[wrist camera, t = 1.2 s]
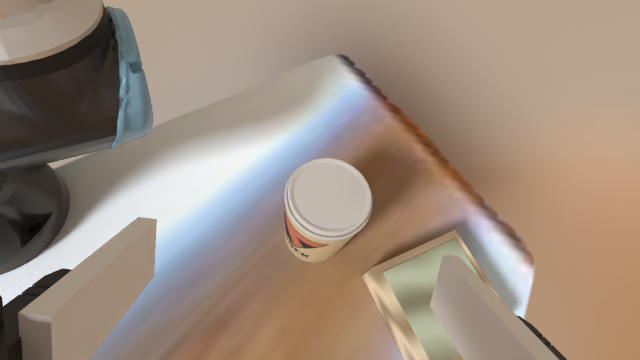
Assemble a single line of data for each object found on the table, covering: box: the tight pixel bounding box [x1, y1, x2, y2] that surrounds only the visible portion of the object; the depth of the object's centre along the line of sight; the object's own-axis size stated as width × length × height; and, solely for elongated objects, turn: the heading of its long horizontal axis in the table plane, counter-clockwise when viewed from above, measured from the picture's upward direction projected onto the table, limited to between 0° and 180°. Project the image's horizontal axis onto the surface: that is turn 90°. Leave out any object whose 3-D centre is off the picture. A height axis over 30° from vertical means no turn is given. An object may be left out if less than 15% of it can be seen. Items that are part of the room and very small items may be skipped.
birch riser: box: [363, 230, 500, 360], centre depth 42 cm, size 13×13×4 cm
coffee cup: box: [285, 158, 373, 262], centre depth 41 cm, size 9×9×12 cm
